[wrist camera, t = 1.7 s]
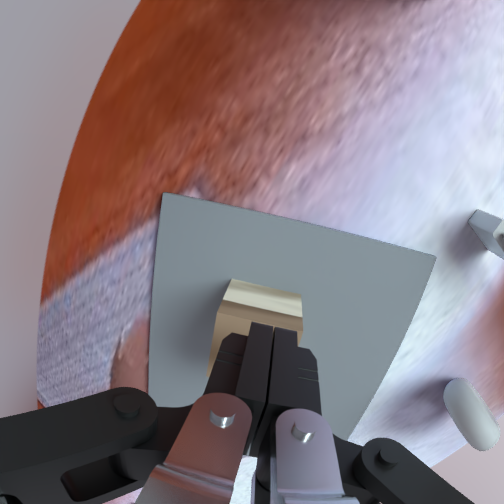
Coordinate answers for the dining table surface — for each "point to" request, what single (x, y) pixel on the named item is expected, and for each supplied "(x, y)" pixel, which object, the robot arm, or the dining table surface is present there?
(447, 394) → the donut
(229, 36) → the dining table surface
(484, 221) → the lighter
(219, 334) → the block
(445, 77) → the dining table surface
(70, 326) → the dining table surface
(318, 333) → the mat
